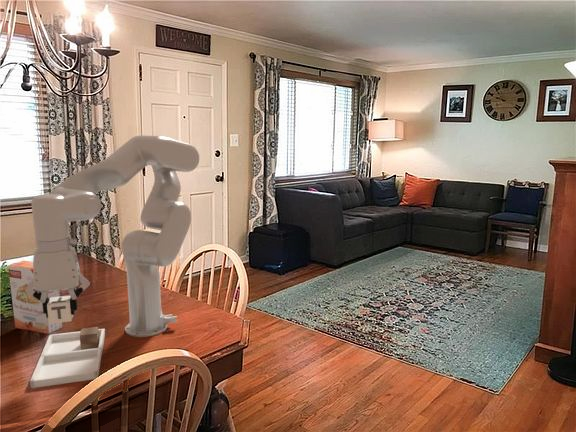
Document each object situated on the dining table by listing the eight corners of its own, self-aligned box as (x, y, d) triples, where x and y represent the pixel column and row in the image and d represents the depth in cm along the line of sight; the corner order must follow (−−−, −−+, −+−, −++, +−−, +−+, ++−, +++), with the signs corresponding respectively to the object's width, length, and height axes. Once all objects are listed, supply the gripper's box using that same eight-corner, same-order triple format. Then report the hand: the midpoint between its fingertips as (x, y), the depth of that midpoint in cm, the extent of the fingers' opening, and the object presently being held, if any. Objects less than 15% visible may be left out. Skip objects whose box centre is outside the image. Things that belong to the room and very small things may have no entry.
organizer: (105, 335, 140) (104, 328, 139) (98, 380, 115) (97, 372, 115) (50, 342, 135) (49, 334, 135) (30, 390, 111) (29, 381, 110)
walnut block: (99, 341, 135) (98, 326, 134) (98, 348, 131) (96, 333, 130) (82, 343, 134) (81, 328, 133) (80, 350, 130) (79, 335, 129)
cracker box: (14, 329, 144) (6, 264, 140) (30, 321, 149) (24, 259, 145) (47, 336, 139) (41, 270, 135) (63, 328, 144) (57, 264, 140)
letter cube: (73, 313, 120) (71, 295, 119) (71, 321, 115) (69, 302, 114) (52, 315, 119) (50, 297, 118) (49, 324, 114) (46, 304, 113)
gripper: (92, 238, 119) (98, 304, 123) (18, 243, 114) (26, 312, 118) (89, 246, 112) (96, 315, 116) (10, 252, 107) (19, 324, 111)
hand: (61, 313), depth 117 cm, fingers closed on letter cube, 4 cm apart
